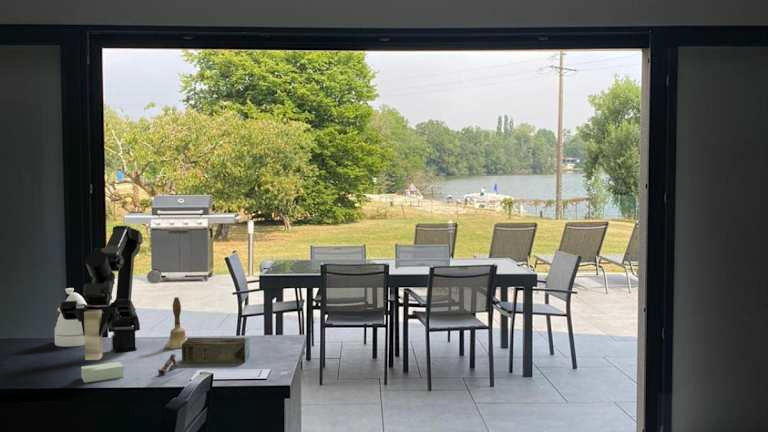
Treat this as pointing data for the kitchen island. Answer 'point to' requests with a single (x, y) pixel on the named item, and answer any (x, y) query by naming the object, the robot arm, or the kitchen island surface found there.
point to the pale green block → (102, 372)
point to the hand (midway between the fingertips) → (92, 335)
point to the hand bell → (176, 328)
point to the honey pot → (69, 325)
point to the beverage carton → (215, 350)
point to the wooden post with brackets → (172, 359)
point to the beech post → (93, 335)
